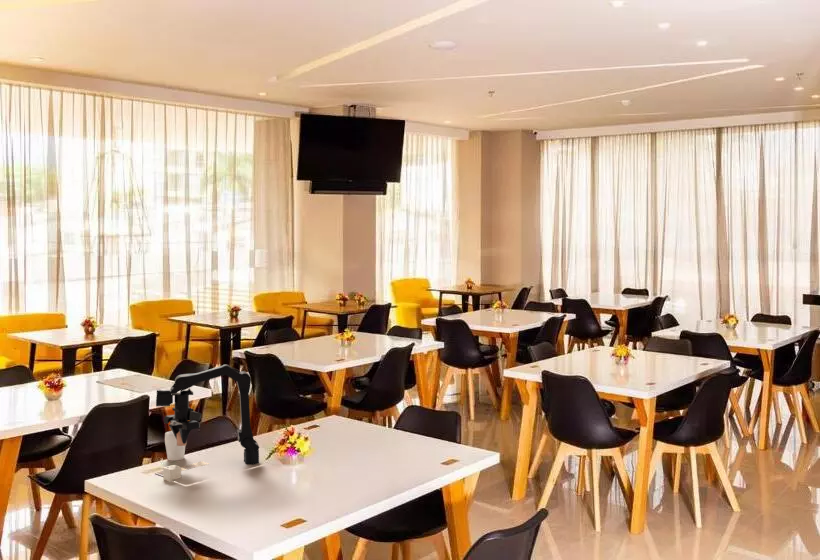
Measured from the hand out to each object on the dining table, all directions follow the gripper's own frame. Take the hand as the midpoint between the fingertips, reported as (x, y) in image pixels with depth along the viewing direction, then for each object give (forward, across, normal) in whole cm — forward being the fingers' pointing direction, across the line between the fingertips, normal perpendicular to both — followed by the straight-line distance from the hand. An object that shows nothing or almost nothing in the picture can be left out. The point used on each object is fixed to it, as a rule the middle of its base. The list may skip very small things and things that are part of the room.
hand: (181, 442), depth 338 cm
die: (+12, -9, +10) cm, 17 cm away
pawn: (+1, 0, 0) cm, 1 cm away
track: (+12, 0, -1) cm, 12 cm away
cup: (+12, +15, -7) cm, 20 cm away
